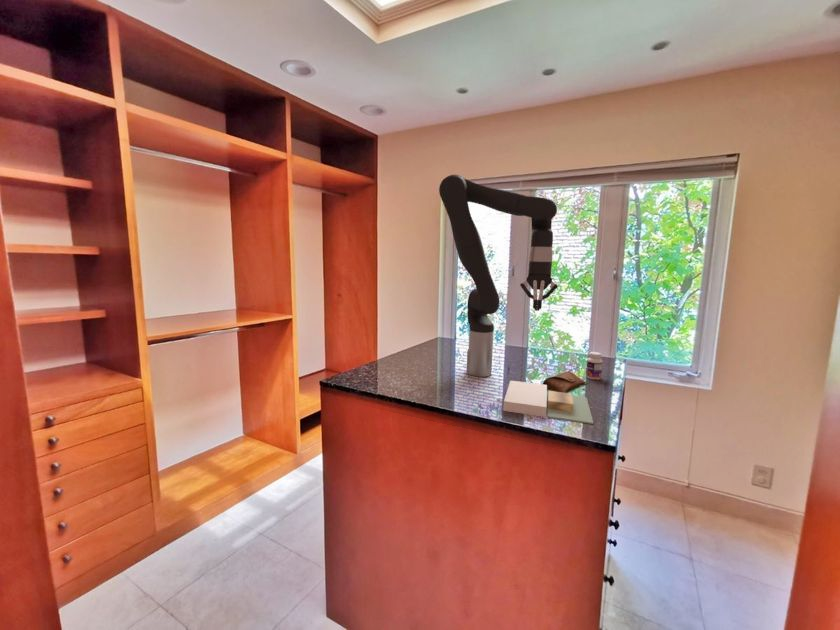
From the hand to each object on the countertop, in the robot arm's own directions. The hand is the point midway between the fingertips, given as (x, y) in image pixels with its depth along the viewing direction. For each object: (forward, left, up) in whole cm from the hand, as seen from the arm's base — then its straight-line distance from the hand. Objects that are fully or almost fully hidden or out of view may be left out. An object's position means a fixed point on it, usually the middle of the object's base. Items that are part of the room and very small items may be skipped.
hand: (537, 310), depth 130 cm
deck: (-1, -18, -27) cm, 32 cm away
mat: (+12, -18, -27) cm, 34 cm away
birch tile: (+9, -18, -27) cm, 33 cm away
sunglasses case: (+12, +4, -28) cm, 30 cm away
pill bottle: (+22, +17, -27) cm, 39 cm away
